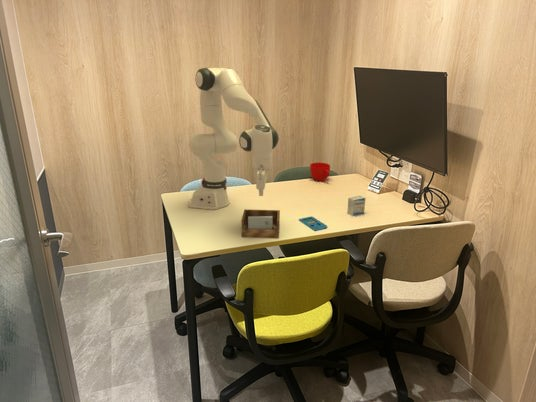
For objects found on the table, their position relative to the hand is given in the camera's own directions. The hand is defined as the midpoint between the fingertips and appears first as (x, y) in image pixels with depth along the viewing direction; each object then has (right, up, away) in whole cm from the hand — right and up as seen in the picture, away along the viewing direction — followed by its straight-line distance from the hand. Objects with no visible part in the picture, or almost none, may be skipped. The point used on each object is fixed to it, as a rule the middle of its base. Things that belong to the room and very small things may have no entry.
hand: (261, 191), depth 180 cm
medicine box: (+49, -11, +27) cm, 57 cm away
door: (-1, -19, +1) cm, 19 cm away
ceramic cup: (+37, +9, +78) cm, 87 cm away
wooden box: (0, -18, +6) cm, 19 cm away
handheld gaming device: (+25, -16, +14) cm, 33 cm away
